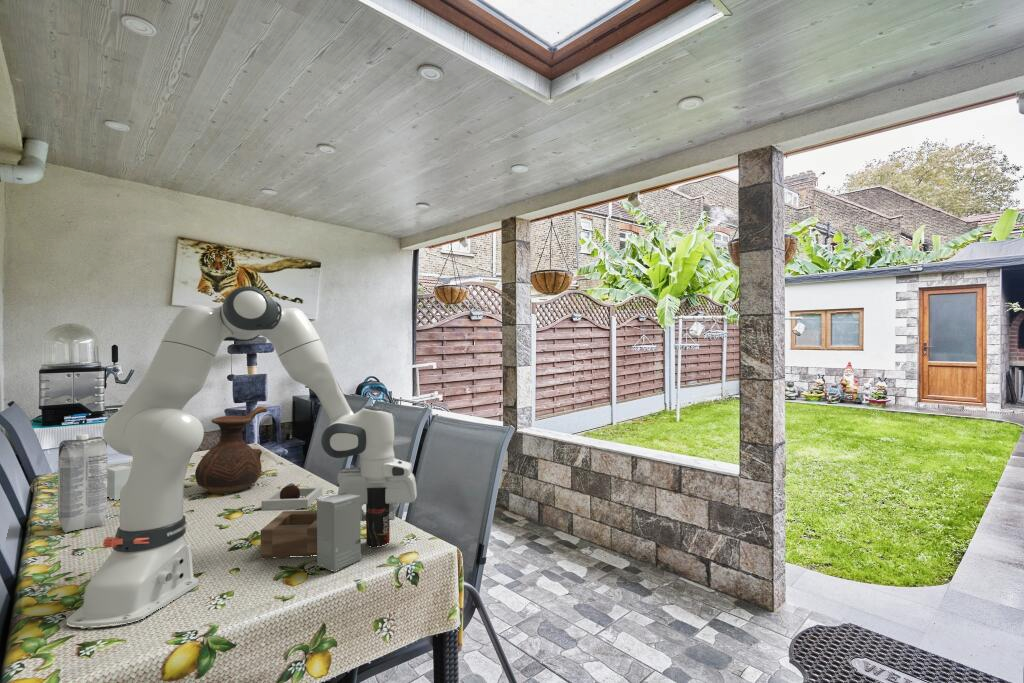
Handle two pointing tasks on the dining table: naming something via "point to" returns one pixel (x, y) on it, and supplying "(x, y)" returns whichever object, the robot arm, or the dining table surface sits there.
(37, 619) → the dining table surface
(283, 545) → the holder
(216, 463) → the jug
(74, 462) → the juice carton
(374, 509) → the deodorant
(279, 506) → the watch tray
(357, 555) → the skincare box
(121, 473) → the small box
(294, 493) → the compass
